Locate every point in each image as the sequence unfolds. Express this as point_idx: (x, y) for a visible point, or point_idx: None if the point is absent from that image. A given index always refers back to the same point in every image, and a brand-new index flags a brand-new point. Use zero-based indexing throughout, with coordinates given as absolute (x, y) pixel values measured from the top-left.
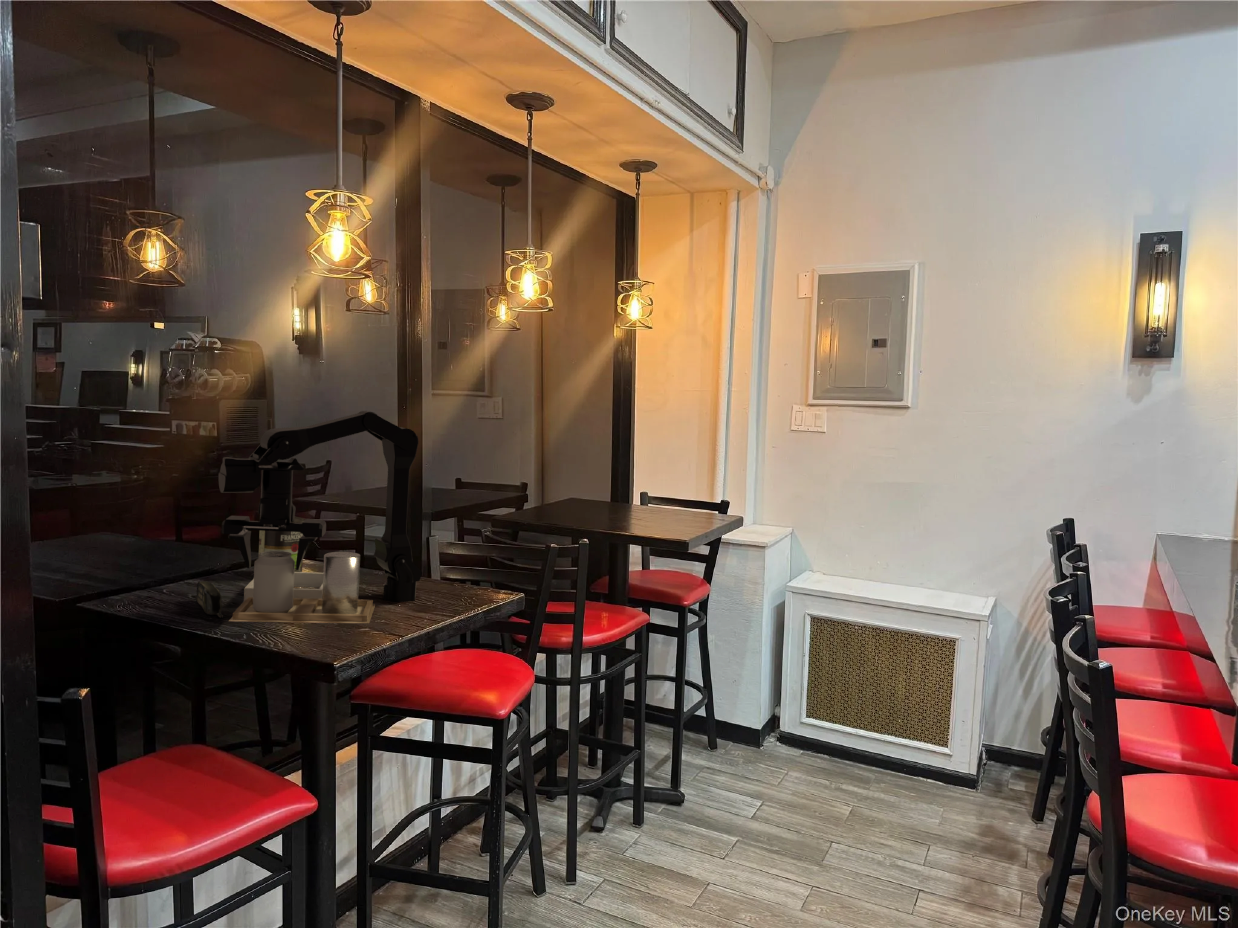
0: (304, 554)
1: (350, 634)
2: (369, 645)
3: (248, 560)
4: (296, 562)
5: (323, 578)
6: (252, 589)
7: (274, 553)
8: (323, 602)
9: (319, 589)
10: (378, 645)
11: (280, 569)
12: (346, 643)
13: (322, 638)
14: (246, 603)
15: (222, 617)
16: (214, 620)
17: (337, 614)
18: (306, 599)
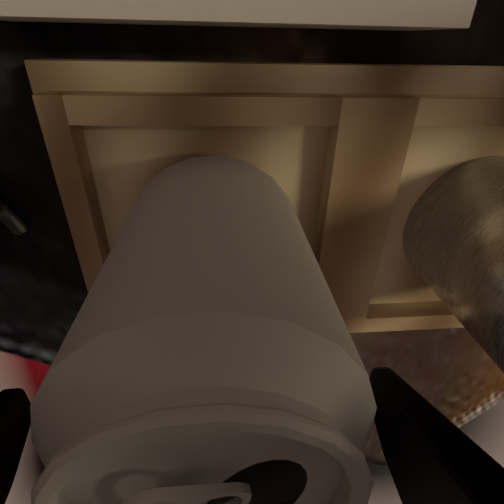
0: (497, 473)
1: (454, 336)
2: (478, 393)
3: (3, 500)
4: (389, 463)
5: (502, 354)
6: (1, 14)
7: (192, 495)
8: (430, 283)
9: (453, 11)
10: (497, 391)
11: (275, 470)
12: (431, 388)
13: (380, 366)
14: (87, 220)
15: (27, 229)
16: (14, 250)
17: (454, 320)
18: (355, 122)
